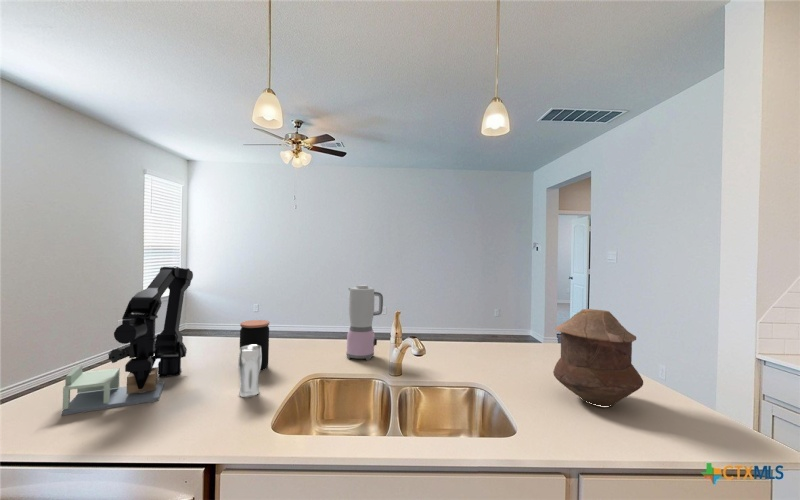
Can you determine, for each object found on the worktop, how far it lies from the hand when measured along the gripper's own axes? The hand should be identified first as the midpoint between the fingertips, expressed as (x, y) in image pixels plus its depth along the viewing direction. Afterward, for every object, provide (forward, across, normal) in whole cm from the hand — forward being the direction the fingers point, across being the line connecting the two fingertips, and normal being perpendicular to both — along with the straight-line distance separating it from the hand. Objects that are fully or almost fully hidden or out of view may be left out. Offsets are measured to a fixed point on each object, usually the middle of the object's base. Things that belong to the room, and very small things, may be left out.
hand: (142, 384), depth 110 cm
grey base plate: (+3, 0, -6) cm, 7 cm away
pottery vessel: (+3, +66, +130) cm, 146 cm away
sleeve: (+1, 0, 0) cm, 1 cm away
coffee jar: (+4, -12, +34) cm, 36 cm away
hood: (+2, 0, -12) cm, 12 cm away
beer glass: (+3, +13, +30) cm, 33 cm away
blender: (+4, -8, +79) cm, 79 cm away
